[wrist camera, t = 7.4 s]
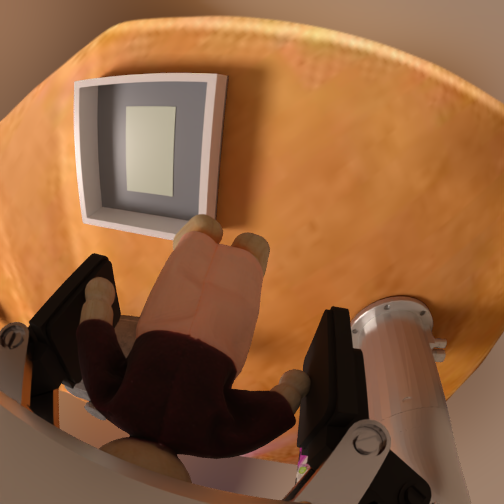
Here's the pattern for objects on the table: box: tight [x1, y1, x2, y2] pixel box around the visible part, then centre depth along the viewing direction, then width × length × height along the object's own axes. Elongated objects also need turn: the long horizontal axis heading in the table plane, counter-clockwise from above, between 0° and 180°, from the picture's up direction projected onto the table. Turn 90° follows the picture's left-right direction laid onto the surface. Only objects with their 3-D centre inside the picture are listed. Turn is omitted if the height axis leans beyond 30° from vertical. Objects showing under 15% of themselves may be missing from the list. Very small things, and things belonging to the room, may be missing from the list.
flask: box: [65, 315, 140, 420], centre depth 38 cm, size 4×14×18 cm, turn 91°
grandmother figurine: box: [76, 214, 311, 483], centre depth 8 cm, size 8×4×13 cm, turn 79°
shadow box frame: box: [74, 73, 229, 240], centre depth 28 cm, size 16×17×4 cm
